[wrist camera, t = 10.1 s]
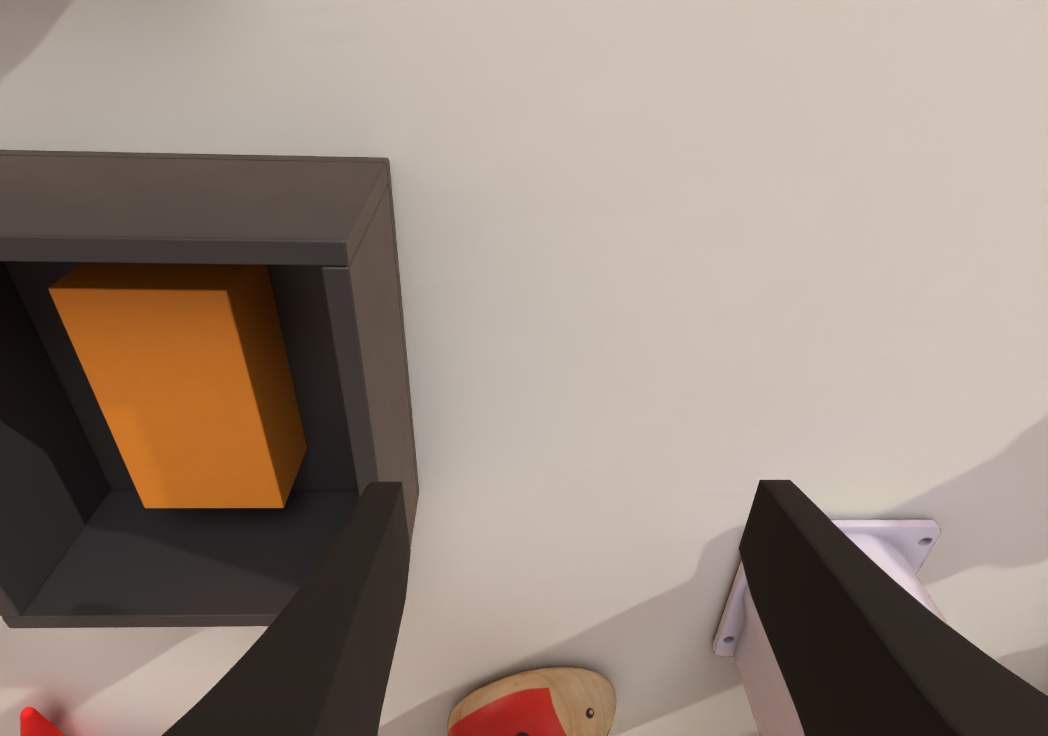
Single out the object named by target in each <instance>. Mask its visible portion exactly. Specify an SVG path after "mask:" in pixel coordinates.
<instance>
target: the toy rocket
mask: <svg viewBox="0 0 1048 736" xmlns="http://www.w3.org/2000/svg"><path fill="white" fill-rule="evenodd" d="M20 720H21V736H65V735H64V734H63V733H62V732H61V731H60V730H59V729H58V728H57V727H56V726H55V725H53V724H52V723H51V722H50V721H49V720H48V719H46V718H45V717H44V716H43V715H41V714H40V713H39V712H38V711H37V710H35V709H34V708H32V707H27V708H25V709H23V710H22V712H21V716H20Z"/></svg>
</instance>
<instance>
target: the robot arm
mask: <svg viewBox="0 0 1048 736" xmlns="http://www.w3.org/2000/svg"><path fill="white" fill-rule="evenodd" d="M940 532H941V528H940V527H939V525H938V524H937V522H935V521H934V520H830V519H829V518H828V517H827V516H826V515H825V514H824V513H823V512H822V511H821V510H820V509H819V508H818V507H817V506H816V505H815V504H814V503H813V502H812V501H811V500H810V499H809V498H808V497H807V496H806V495H805V494H804V493H803V492H802V491H801V490H800V489H799V488H798V487H797V486H796V485H795V484H794V483H793V482H792V481H790V480H760V482H759V485H758V488H757V491H756V494H755V498H754V501H753V504H752V507H751V510H750V514H749V517H748V520H747V523H746V527H745V530H744V533H743V536H742V539H741V543H740V546H739V551H740V555H741V562H740V565H739V568H738V571H737V574H736V577H735V580H734V583H733V586H732V589H731V592H730V595H729V598H728V601H727V604H726V607H725V610H724V613H723V616H722V619H721V622H720V625H719V628H718V631H717V634H716V637H715V640H714V643H713V650H714V653H715V654H716V655H718V656H721V657H735V660H736V663H737V666H738V669H739V672H740V675H741V679H742V682H743V685H744V688H745V691H746V694H747V697H748V700H749V703H750V706H751V710H752V713H753V716H754V719H755V722H756V725H757V728H758V731H759V734H760V736H1048V696H1046V695H1045V694H1043V693H1042V692H1040V691H1039V690H1037V689H1036V688H1034V687H1033V686H1032V685H1030V684H1029V683H1027V682H1026V681H1024V680H1023V679H1021V678H1020V677H1018V676H1017V675H1015V674H1014V673H1012V672H1011V671H1009V670H1008V669H1006V668H1005V667H1004V666H1002V665H1001V664H999V663H998V662H997V661H995V660H994V659H992V658H991V657H990V656H988V655H987V654H985V653H984V652H983V651H981V650H980V649H979V648H977V647H976V646H975V645H973V644H972V643H971V642H969V641H968V640H967V639H966V638H964V637H963V636H962V635H960V634H959V633H958V632H956V631H955V630H954V629H952V628H951V627H950V626H949V625H948V623H947V621H946V620H945V618H944V617H943V615H942V614H941V612H940V611H939V609H938V608H937V606H936V605H935V603H934V602H933V600H932V598H931V597H930V595H929V594H928V592H927V591H926V589H925V588H924V586H923V585H922V583H921V582H920V580H919V578H918V577H917V575H916V574H917V572H918V571H919V569H920V567H921V565H922V564H923V562H924V560H925V559H926V557H927V555H928V553H929V552H930V550H931V548H932V547H933V545H934V543H935V541H936V540H937V538H938V536H939V535H940ZM410 551H411V550H410V542H409V534H408V526H407V518H406V510H405V502H404V494H403V486H402V482H370V483H369V484H368V485H367V486H366V487H365V489H364V491H363V493H362V495H361V497H360V498H359V500H358V502H357V504H356V505H355V507H354V509H353V510H352V512H351V514H350V515H349V517H348V519H347V520H346V522H345V523H344V525H343V527H342V528H341V530H340V531H339V533H338V535H337V536H336V538H335V539H334V541H333V542H332V544H331V545H330V546H329V548H328V549H327V551H326V552H325V554H324V555H323V557H322V558H321V560H320V561H319V563H318V564H317V565H316V567H315V568H314V570H313V571H312V572H311V574H310V575H309V577H308V578H307V579H306V580H305V582H304V583H303V584H302V586H301V587H300V588H299V590H298V591H297V592H296V594H295V595H294V596H293V597H292V599H291V600H290V601H289V603H288V604H287V605H286V607H285V608H284V609H283V610H282V612H281V613H280V614H279V615H278V616H277V618H276V619H275V620H274V621H273V623H272V624H271V625H270V626H269V627H268V628H267V630H266V631H265V632H264V633H263V634H262V635H261V637H260V638H259V639H258V640H257V641H256V642H255V643H254V644H253V646H252V647H251V648H250V649H249V650H248V651H247V652H246V653H245V655H244V656H243V657H242V658H241V659H240V660H239V661H238V662H237V663H236V664H235V665H234V666H233V667H232V668H231V669H230V670H229V671H228V672H227V673H226V674H225V676H224V677H223V678H222V679H221V680H220V681H219V682H218V683H217V684H216V685H215V686H214V687H213V688H212V689H211V690H210V691H209V692H208V693H207V694H206V695H205V696H204V697H203V698H202V699H201V700H200V701H199V702H198V703H197V704H196V705H195V706H194V707H193V708H192V709H190V710H189V711H188V712H187V713H186V714H185V715H184V716H183V717H182V718H181V719H179V720H178V721H177V722H176V723H175V724H174V725H173V726H172V727H171V728H170V729H168V730H167V731H166V732H165V733H164V734H163V735H162V736H377V733H378V728H379V722H380V716H381V711H382V706H383V702H384V697H385V692H386V688H387V683H388V679H389V674H390V669H391V665H392V660H393V656H394V651H395V646H396V642H397V637H398V633H399V628H400V623H401V619H402V614H403V609H404V604H405V599H406V590H407V581H408V572H409V561H410Z"/></svg>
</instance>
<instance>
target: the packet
mask: <svg viewBox="0 0 1048 736" xmlns="http://www.w3.org/2000/svg"><path fill="white" fill-rule="evenodd" d="M49 292H50V294H51V296H52V299H53V301H54V303H55V306H56V308H57V310H58V312H59V315H60V317H61V319H62V321H63V324H64V326H65V328H66V331H67V333H68V335H69V337H70V340H71V342H72V344H73V346H74V349H75V351H76V353H77V356H78V358H79V360H80V362H81V365H82V367H83V369H84V371H85V374H86V376H87V378H88V381H89V383H90V385H91V387H92V390H93V392H94V394H95V396H96V399H97V401H98V403H99V406H100V408H101V410H102V412H103V415H104V417H105V419H106V421H107V424H108V426H109V428H110V431H111V433H112V435H113V437H114V440H115V442H116V444H117V446H118V449H119V451H120V453H121V456H122V458H123V460H124V462H125V465H126V467H127V469H128V471H129V474H130V476H131V478H132V481H133V483H134V485H135V487H136V490H137V492H138V494H139V496H140V499H141V501H142V503H143V506H144V508H284V506H285V504H286V501H287V498H288V496H289V493H290V491H291V488H292V486H293V483H294V480H295V478H296V475H297V473H298V470H299V467H300V465H301V462H302V460H303V457H304V455H305V452H306V449H307V445H306V441H305V436H304V432H303V427H302V422H301V418H300V413H299V409H298V404H297V400H296V395H295V390H294V386H293V381H292V377H291V372H290V367H289V363H288V358H287V354H286V349H285V345H284V340H283V335H282V331H281V326H280V322H279V317H278V312H277V308H276V303H275V299H274V294H273V290H272V285H271V280H270V276H269V271H268V267H267V265H236V264H164V263H92V262H82V263H81V264H79V265H78V266H77V267H75V268H74V269H73V270H72V271H70V272H69V273H68V274H66V275H65V276H64V277H62V278H61V279H60V280H58V281H57V282H56V283H54V284H53V285H52V286H51V287H49Z"/></svg>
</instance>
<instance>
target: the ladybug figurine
mask: <svg viewBox="0 0 1048 736" xmlns="http://www.w3.org/2000/svg"><path fill="white" fill-rule="evenodd" d="M615 708H616V692H615V689H614V687H613V685H612V684H611V683H610V681H608V680H607V679H606V678H605V677H603V676H602V675H600V674H598V673H596V672H593V671H590V670H587V669H582V668H574V667H551V668H542V669H535V670H530V671H525V672H521V673H518V674H514V675H511V676H508V677H504V678H502V679H499V680H496V681H494V682H491V683H489V684H487V685H485V686H483V687H481V688H479V689H477V690H475V691H474V692H472V693H471V694H469V695H468V696H466V697H465V698H464V699H462V700H461V701H460V702H459V703H458V704H457V705H456V706H455V708H454V709H453V710H452V712H451V714H450V716H449V719H448V724H447V731H448V736H608V734H609V731H610V729H611V726H612V723H613V719H614V714H615Z"/></svg>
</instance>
